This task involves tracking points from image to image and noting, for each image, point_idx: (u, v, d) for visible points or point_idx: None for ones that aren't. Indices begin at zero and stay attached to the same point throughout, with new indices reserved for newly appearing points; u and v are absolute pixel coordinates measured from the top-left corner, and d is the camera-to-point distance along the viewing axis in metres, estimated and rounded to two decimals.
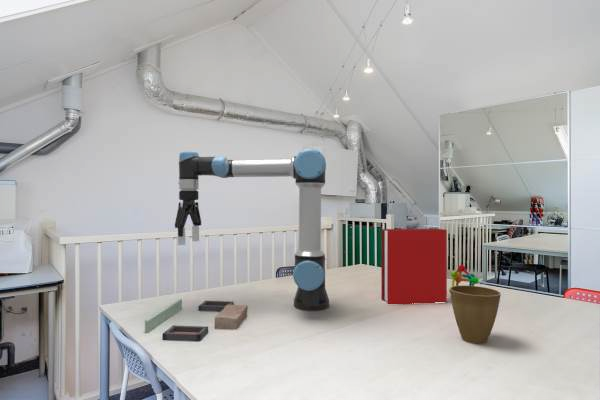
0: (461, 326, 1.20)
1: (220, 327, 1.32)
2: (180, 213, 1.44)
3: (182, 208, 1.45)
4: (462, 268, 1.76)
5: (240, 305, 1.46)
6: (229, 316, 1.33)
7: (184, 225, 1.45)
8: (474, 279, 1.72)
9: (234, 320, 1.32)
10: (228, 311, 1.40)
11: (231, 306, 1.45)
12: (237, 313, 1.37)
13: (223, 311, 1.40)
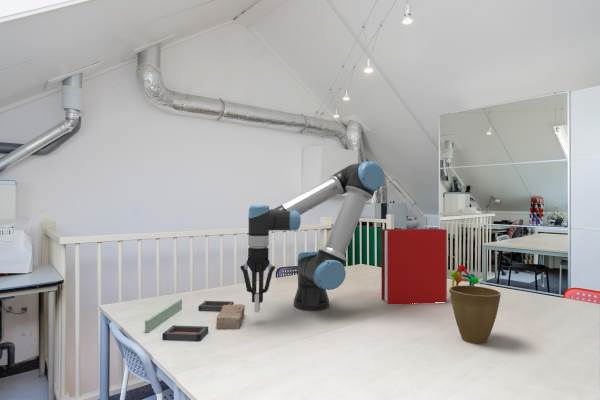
0: (461, 326, 1.20)
1: (223, 328, 1.32)
2: None
3: None
4: (462, 268, 1.76)
5: (237, 305, 1.46)
6: (231, 316, 1.33)
7: (254, 290, 1.38)
8: (474, 279, 1.72)
9: (237, 320, 1.32)
10: (227, 311, 1.39)
11: (229, 306, 1.45)
12: (237, 313, 1.38)
13: (222, 311, 1.39)
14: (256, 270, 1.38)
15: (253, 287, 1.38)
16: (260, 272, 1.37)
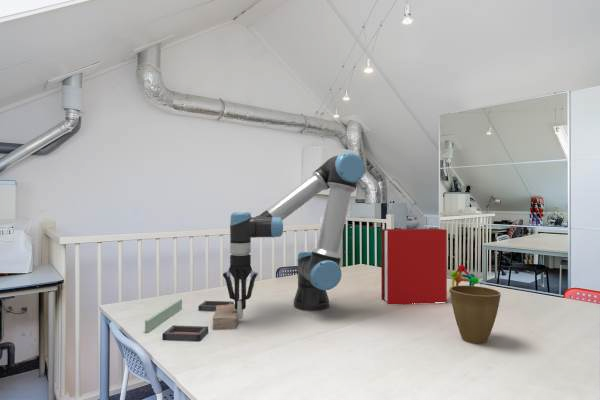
0: (461, 326, 1.20)
1: (219, 328, 1.31)
2: None
3: None
4: (462, 268, 1.76)
5: (231, 305, 1.46)
6: (227, 316, 1.33)
7: (237, 296, 1.38)
8: (474, 279, 1.72)
9: (234, 319, 1.32)
10: (222, 311, 1.39)
11: (222, 306, 1.45)
12: (233, 313, 1.38)
13: (217, 312, 1.39)
14: (238, 277, 1.38)
15: (236, 294, 1.38)
16: (242, 279, 1.38)
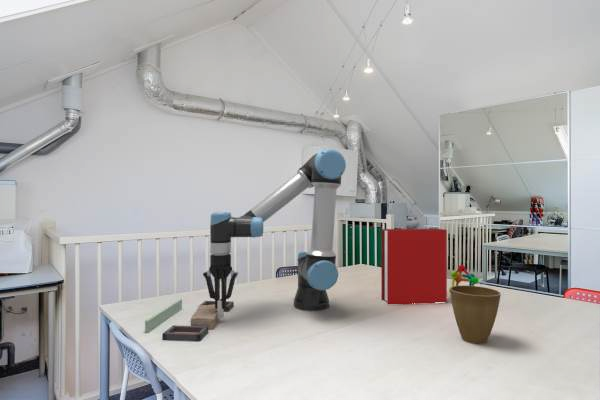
0: (461, 326, 1.20)
1: None
2: None
3: None
4: (462, 268, 1.76)
5: (213, 305, 1.46)
6: (205, 316, 1.33)
7: (217, 296, 1.39)
8: (474, 279, 1.72)
9: (211, 320, 1.31)
10: (202, 312, 1.39)
11: (204, 307, 1.44)
12: (212, 313, 1.37)
13: (197, 312, 1.38)
14: (218, 277, 1.39)
15: (216, 293, 1.39)
16: (222, 279, 1.38)
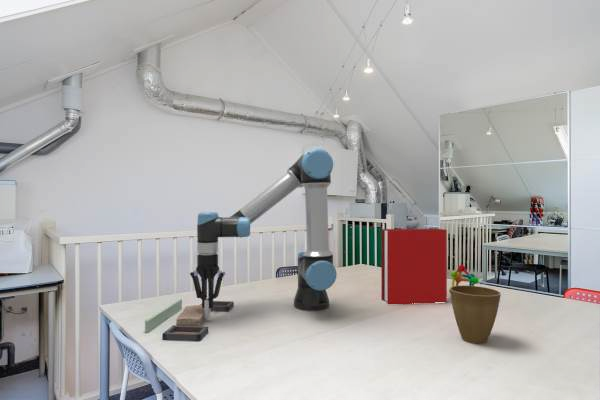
0: (461, 326, 1.20)
1: None
2: None
3: None
4: (462, 268, 1.76)
5: (200, 306, 1.45)
6: (191, 317, 1.32)
7: (204, 296, 1.40)
8: (474, 279, 1.72)
9: (197, 321, 1.31)
10: (189, 312, 1.38)
11: (191, 307, 1.44)
12: (199, 314, 1.37)
13: (184, 312, 1.38)
14: (205, 276, 1.40)
15: (203, 293, 1.40)
16: (209, 278, 1.39)
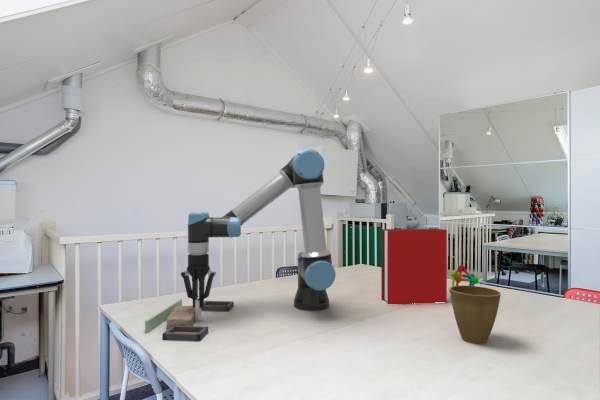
0: (461, 326, 1.20)
1: None
2: None
3: None
4: (462, 268, 1.76)
5: (190, 306, 1.45)
6: (182, 317, 1.32)
7: (195, 295, 1.40)
8: (474, 279, 1.72)
9: (187, 321, 1.31)
10: (179, 313, 1.38)
11: (181, 308, 1.43)
12: (189, 314, 1.36)
13: (174, 313, 1.37)
14: (196, 276, 1.40)
15: (193, 293, 1.40)
16: (200, 278, 1.39)
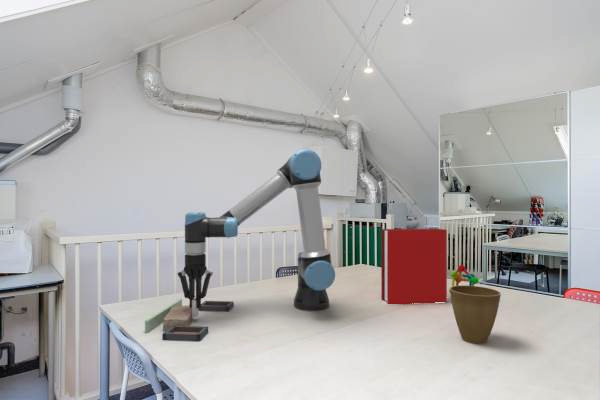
0: (461, 326, 1.20)
1: None
2: None
3: None
4: (462, 268, 1.76)
5: (187, 306, 1.45)
6: (178, 317, 1.32)
7: (192, 296, 1.40)
8: (474, 279, 1.72)
9: (184, 321, 1.30)
10: (176, 313, 1.38)
11: (177, 308, 1.43)
12: (186, 314, 1.36)
13: (170, 313, 1.37)
14: (193, 276, 1.40)
15: (190, 293, 1.40)
16: (197, 278, 1.39)
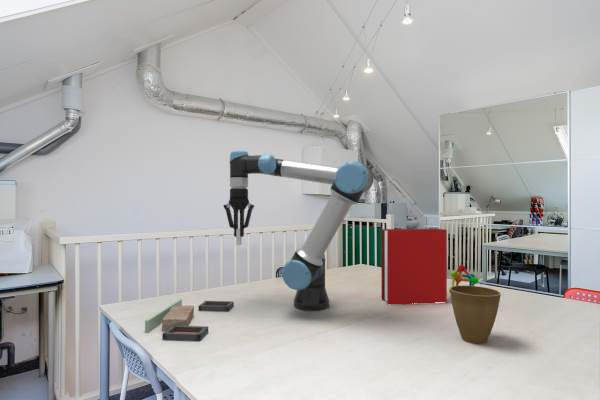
0: (461, 326, 1.20)
1: None
2: None
3: None
4: (462, 268, 1.76)
5: (186, 306, 1.45)
6: (177, 317, 1.32)
7: (236, 225, 1.57)
8: (474, 279, 1.72)
9: (183, 321, 1.30)
10: (175, 313, 1.38)
11: (177, 308, 1.43)
12: (185, 314, 1.36)
13: (170, 313, 1.37)
14: (237, 208, 1.57)
15: (235, 223, 1.57)
16: (241, 209, 1.56)
